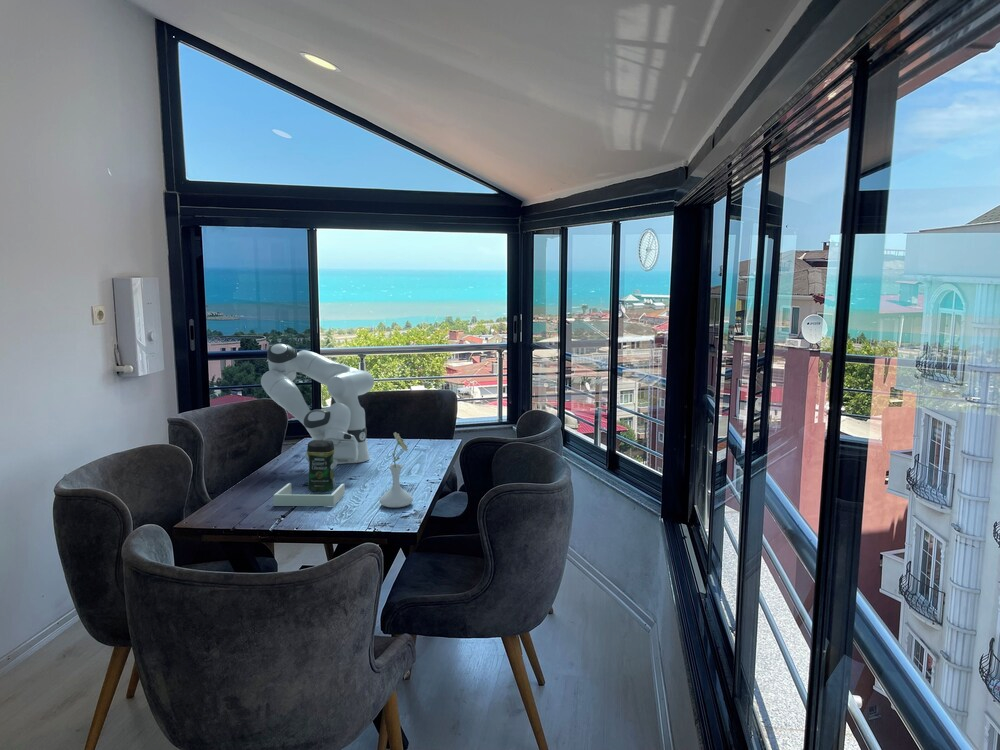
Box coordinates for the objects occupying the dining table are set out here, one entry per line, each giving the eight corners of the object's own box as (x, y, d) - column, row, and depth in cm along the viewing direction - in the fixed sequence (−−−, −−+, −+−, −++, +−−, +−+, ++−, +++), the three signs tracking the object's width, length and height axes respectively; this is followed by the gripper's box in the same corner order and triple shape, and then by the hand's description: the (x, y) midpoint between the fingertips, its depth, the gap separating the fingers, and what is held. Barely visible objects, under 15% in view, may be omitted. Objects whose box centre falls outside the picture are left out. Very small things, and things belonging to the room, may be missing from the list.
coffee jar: (305, 492, 239) (303, 442, 237) (312, 486, 247) (310, 438, 245) (331, 492, 238) (330, 442, 236) (337, 486, 246) (336, 438, 244)
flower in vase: (412, 510, 219) (411, 436, 216) (377, 511, 218) (376, 437, 215) (414, 498, 232) (413, 429, 229) (381, 499, 231) (380, 429, 228)
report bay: (288, 493, 237) (288, 483, 237) (344, 494, 236) (344, 483, 236) (273, 506, 223) (273, 495, 222) (333, 507, 222) (332, 495, 221)
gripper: (307, 435, 257) (299, 467, 249) (358, 435, 256) (352, 467, 248) (311, 443, 263) (304, 474, 254) (361, 444, 262) (356, 475, 253)
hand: (328, 471), depth 251 cm, fingers closed
